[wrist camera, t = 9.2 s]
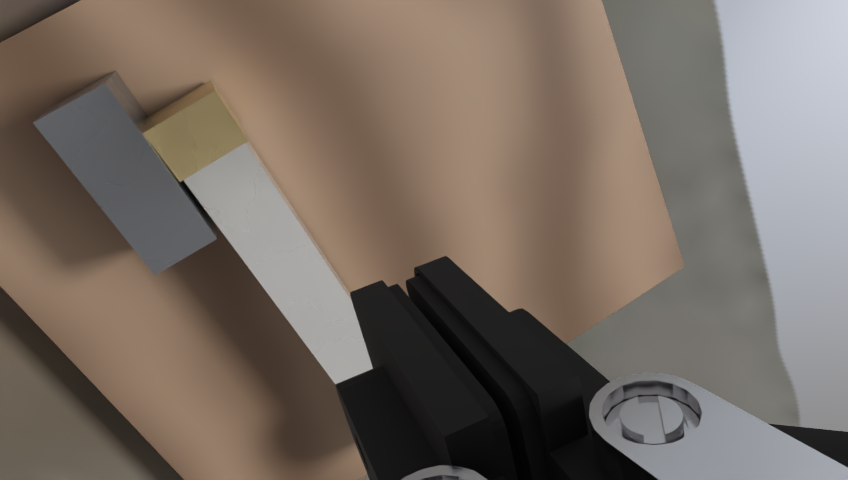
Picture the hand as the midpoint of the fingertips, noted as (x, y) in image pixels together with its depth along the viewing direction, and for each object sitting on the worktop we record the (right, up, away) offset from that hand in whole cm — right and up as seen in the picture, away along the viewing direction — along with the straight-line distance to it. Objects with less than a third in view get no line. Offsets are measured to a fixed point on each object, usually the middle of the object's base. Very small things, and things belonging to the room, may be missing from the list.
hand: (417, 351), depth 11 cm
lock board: (-2, +3, +14) cm, 14 cm away
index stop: (-9, +5, +11) cm, 15 cm away
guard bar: (-4, 0, +12) cm, 13 cm away
